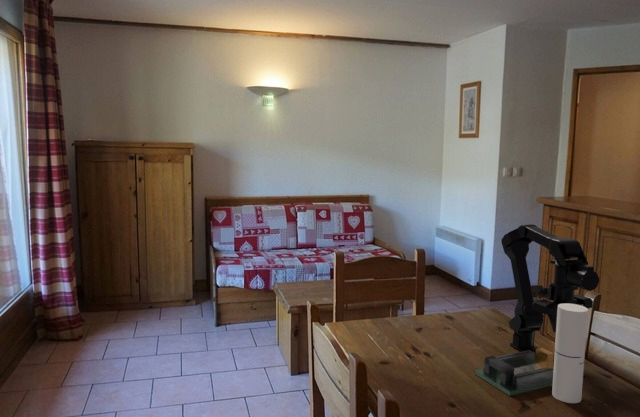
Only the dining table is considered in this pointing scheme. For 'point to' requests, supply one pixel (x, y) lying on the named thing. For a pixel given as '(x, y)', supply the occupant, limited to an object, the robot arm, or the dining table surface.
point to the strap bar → (537, 362)
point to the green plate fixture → (502, 373)
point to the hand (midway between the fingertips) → (560, 331)
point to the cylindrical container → (569, 352)
